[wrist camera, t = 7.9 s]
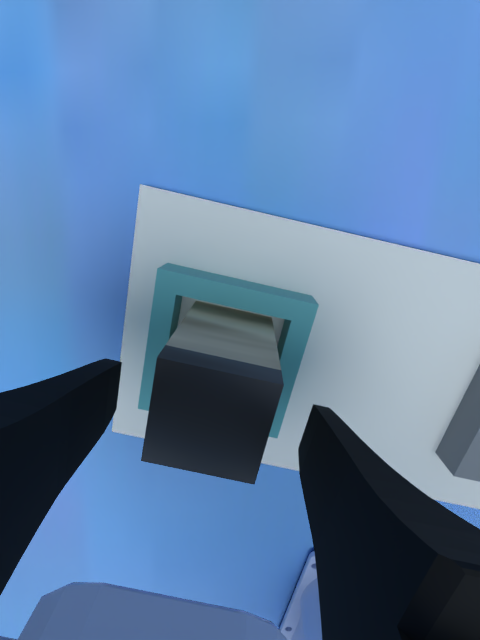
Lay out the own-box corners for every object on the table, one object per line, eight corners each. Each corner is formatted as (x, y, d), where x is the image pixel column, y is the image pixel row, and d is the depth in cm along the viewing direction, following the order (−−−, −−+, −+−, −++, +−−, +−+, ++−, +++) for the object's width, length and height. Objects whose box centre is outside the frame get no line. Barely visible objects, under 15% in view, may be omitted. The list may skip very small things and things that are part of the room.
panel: (555, 514, 21) (599, 557, 18) (118, 421, 20) (97, 452, 17) (696, 314, 17) (780, 333, 14) (146, 186, 16) (125, 179, 13)
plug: (254, 384, 18) (254, 484, 11) (183, 368, 18) (140, 460, 11) (271, 317, 17) (283, 384, 10) (196, 300, 16) (156, 357, 10)
